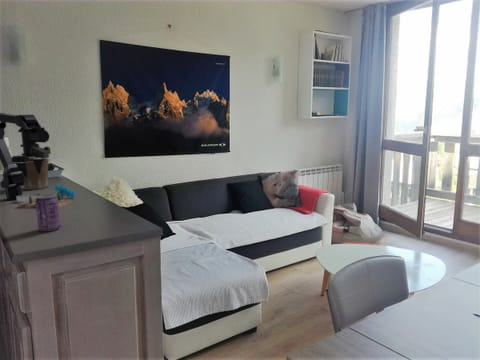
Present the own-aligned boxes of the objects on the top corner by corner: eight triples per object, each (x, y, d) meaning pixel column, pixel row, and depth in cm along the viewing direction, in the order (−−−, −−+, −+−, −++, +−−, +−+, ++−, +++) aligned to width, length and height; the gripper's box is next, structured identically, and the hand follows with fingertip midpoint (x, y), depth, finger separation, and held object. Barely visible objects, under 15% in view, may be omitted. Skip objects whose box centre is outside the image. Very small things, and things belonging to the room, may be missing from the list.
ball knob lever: (16, 202, 187) (15, 196, 187) (22, 200, 192) (21, 194, 191) (46, 202, 185) (45, 196, 185) (52, 200, 189) (51, 194, 189)
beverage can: (43, 227, 143) (39, 194, 141) (64, 226, 143) (60, 193, 141) (35, 233, 136) (30, 198, 134) (56, 231, 136) (52, 197, 134)
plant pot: (58, 186, 227) (55, 158, 224) (30, 192, 214) (27, 162, 211) (41, 184, 236) (38, 157, 233) (14, 189, 222) (10, 161, 219)
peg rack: (18, 207, 176) (16, 197, 176) (33, 202, 186) (32, 193, 185) (58, 207, 173) (57, 197, 172) (72, 202, 182) (71, 192, 182)
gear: (80, 195, 191) (63, 183, 184) (74, 205, 188) (57, 193, 181) (67, 196, 197) (51, 184, 191) (61, 206, 194) (44, 195, 188)
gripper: (31, 143, 174) (35, 179, 177) (57, 140, 192) (60, 172, 195) (8, 143, 176) (12, 178, 178) (36, 140, 194) (39, 172, 197)
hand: (32, 175), depth 187 cm, fingers open, 9 cm apart
